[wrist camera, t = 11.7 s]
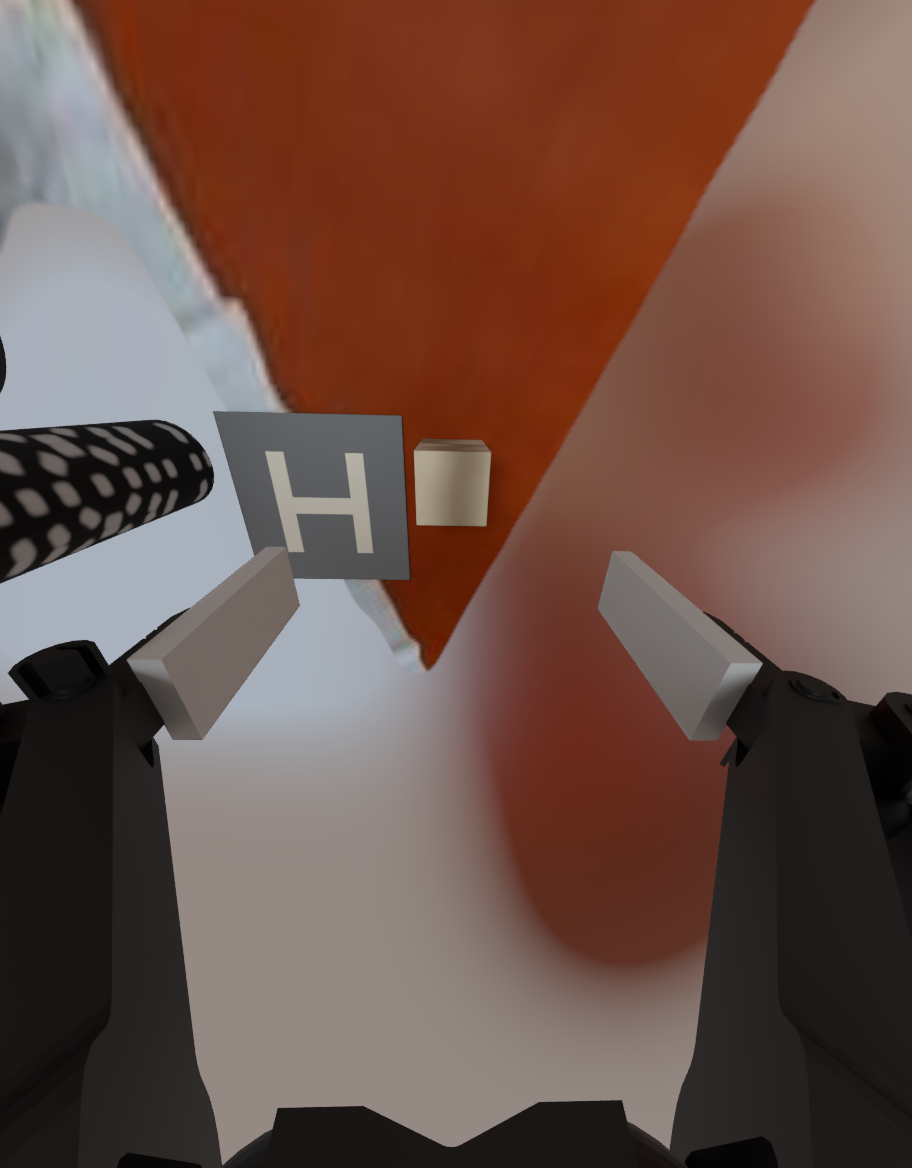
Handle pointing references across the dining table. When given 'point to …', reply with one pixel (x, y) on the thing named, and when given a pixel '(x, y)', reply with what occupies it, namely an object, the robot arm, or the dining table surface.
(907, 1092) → the robot arm
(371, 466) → the board
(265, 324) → the dining table surface
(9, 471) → the white-spotted black cylinder
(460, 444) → the birch block
